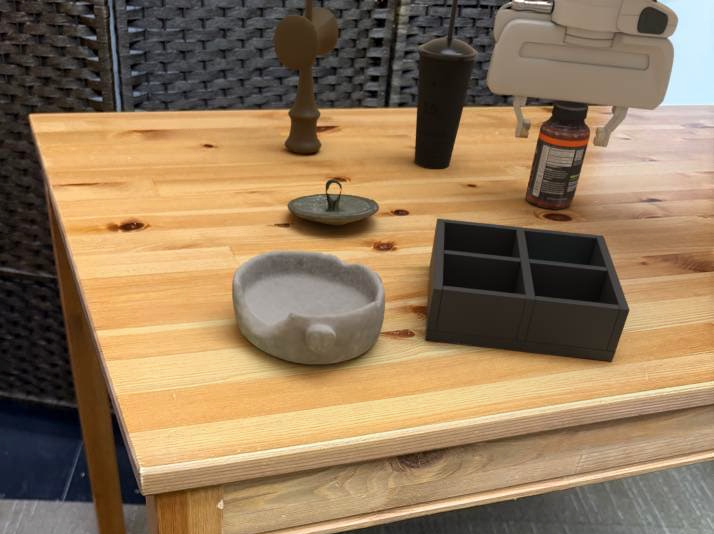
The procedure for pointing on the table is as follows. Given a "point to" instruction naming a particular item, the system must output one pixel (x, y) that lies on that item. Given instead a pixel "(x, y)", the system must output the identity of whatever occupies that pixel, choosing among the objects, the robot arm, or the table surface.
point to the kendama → (305, 68)
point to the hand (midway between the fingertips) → (560, 141)
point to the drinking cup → (441, 95)
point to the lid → (333, 207)
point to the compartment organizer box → (524, 290)
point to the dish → (308, 306)
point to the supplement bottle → (559, 156)
